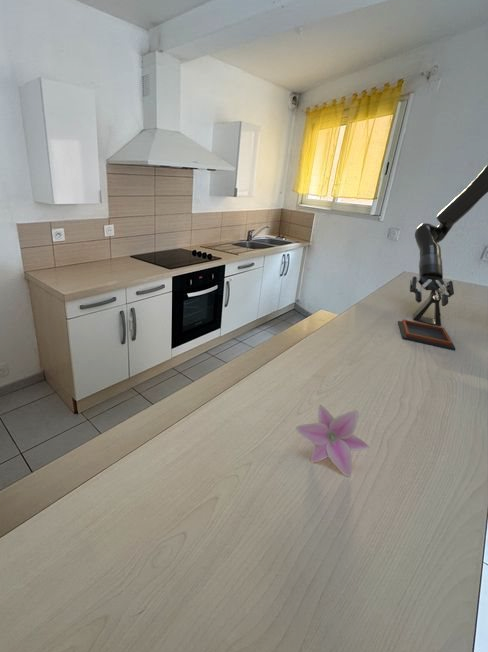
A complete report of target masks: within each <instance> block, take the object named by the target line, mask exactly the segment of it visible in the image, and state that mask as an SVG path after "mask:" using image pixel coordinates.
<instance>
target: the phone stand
mask: <svg viewBox="0 0 488 652" xmlns="http://www.w3.org/2000/svg"><path fill="white" fill-rule="evenodd" d="M437 292H438V293H437ZM437 292H436V291H435V290H433V291H431V290H430V293H429V295H428V297H427V298H426V299H425V300H424V302H422V304H421V305H419V307H418V308H417V309H416V311H414V312H413V313H412V321H414V322H418V323H423V324H428V325H433V326H438V327H442V323H441V322H442V321H441V319H442V318H441V309H440V302H441V301H442V300H441V298H442V296H441V295H440V292H439V291H437ZM432 304H434V313H433V314H434V315H433V316H434V317H433V318H432V317H427V316H423V315H424V314H425V313H426V312H427V310H428V309H429V308H430V306H431V305H432Z"/></svg>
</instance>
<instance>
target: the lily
mask: <svg viewBox="0 0 488 652" xmlns="http://www.w3.org/2000/svg"><path fill="white" fill-rule="evenodd" d="M359 415H360V414H359V410H356V409H354V410H350V411H348V412H344V413H343V414H341V415H338V416H336V417H334V416H333V415H332V414H331V413H330V411H329V410H328V409H327V408H326V407H325V406H324V405H322V404H319V405H318V409H317V421H318V422H313V423H312V422H311V423H305V424H301V425H297V426H296V427H295V431H297V433H299V434H300V436H302V437H303V438H304V439H306V440H307V441H309V442H310V443H312V444H314V446H313V449H312V452H311V455H310V462H311V461H312V462H314V463H319V462H320V461H323V460H325V459H328V458H329V459H330V461H331V462H332V463H333V464H334V465H335V467H336V468H337V469H338V470H339V471H340V472H341V473H342V474H343V475H344V476H345V477H347V478H351V476H352V469H353V467H352V466H353V461H352V460H353V458H352V452H355V451H357V452H358V451H364V450H368V449H370V446H369V444H368V443H366V442H365V441H364V440H362V439H361V438H359V437H358V436H357V435H356V434H354V433H355V431H356V428H357V424H358V421H359V420H358V419H359ZM312 462H311V463H312Z"/></svg>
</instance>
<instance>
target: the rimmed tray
mask: <svg viewBox="0 0 488 652" xmlns="http://www.w3.org/2000/svg"><path fill="white" fill-rule="evenodd" d="M397 324H398V328H399V332H400V335H401V339H402V340H407V341H410V342H415V343H419V344H423V345H429V346H433V347H438V348H442V349H446V350H451V351H456V346H455V345H454V343H453V341H452V339H451V338H450V335H449V334H448V332H447V330H446V328H445V327H444V326H443V327H442V326H436V325H432V324H428V323H423V322H419V321H414V320H408V319H402V320H398V321H397Z"/></svg>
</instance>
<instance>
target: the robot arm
mask: <svg viewBox="0 0 488 652" xmlns="http://www.w3.org/2000/svg"><path fill="white" fill-rule="evenodd" d="M486 194H488V164H486V166H485V167H484V168H483V170H482V171H481V172H480V173H479V174H478V175H477V177H476V178H475V179H474V180H473V181H471V183H470V184H469V185H468V186H467V187H466V188H465V189H464V190H463V191H462V192H461V193H460V194H458V195H457V196H456V197H455V198H454V199H453V200H452V201H451V202H449V204H448V205H446V206H445V207H444V208H443V209H442V210H440V212H439V213H438V214H437V215H436V220H437V221H438V222H439V224H438V225H437V226H435V225H434V224H431V223H428V222H425V223H421V224H419V225H418V226H417V227H416V229H415V231H414V239H415V242H416V245H417V248H418V250H419V261H418V262H419V263H418V271H419V272H418V275H419V276H418V277H419V278H418V277H417V276H412V278H411V279H410V282H409V292H410V293H414V295H415V296H414V297H415V301H416V303H421V302H422V300H423V298H422V297H423V295H422V291H423V290H425V291H430V292H431V291H433V290H435V292H436V294H438V292H437V291H439V292H440V295H441V300H440V301H441V307H445V306H447V305H448V304H449V298H451V297H452V296H453V295H454V294H455V290H454V283H453V281H452V280H449V281H444V279H443V277H444V271H443V259H442V248H441V246H440V244H439V243H440V242H442V241H444V239H445V238H446V237H447V235H448V233H449V232H450V231H451V229H452V228H453V227H454V225H455V224H456V223H457V222H458V221H460V220H461V219H462V218H463V217H465V216H466V215H467V214H468V213H469V212H470V211H471V210H472V208H474V207H475V206H476V205H477V203H478V202H480V200H481V199H483V197H484V196H485V195H486ZM417 283H419V285H420V287H418V288H417Z"/></svg>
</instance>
